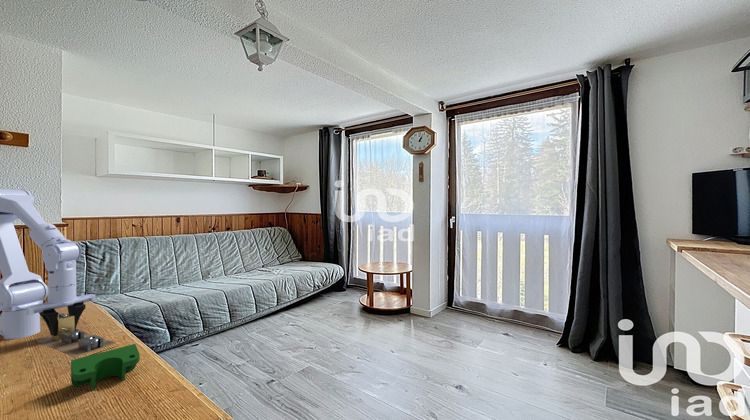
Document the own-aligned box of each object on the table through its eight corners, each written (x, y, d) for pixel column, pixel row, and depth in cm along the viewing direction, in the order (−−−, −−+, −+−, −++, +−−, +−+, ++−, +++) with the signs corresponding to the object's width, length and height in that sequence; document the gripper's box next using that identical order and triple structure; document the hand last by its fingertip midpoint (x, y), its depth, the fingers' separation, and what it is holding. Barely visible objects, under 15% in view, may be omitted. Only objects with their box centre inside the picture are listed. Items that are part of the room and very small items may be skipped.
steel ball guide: (61, 341, 89) (61, 333, 89) (77, 337, 92) (77, 329, 92) (87, 351, 83) (87, 342, 83) (103, 346, 86) (103, 337, 86)
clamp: (86, 410, 67) (62, 383, 63) (82, 393, 71) (60, 365, 67) (149, 371, 75) (132, 344, 71) (143, 356, 79) (126, 330, 74)
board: (35, 344, 89) (35, 340, 89) (76, 332, 97) (76, 329, 97) (74, 360, 80) (74, 356, 80) (116, 346, 88) (116, 342, 88)
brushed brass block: (51, 338, 91) (51, 315, 91) (67, 334, 94) (67, 311, 94) (58, 341, 89) (58, 317, 89) (74, 336, 92) (74, 313, 92)
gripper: (33, 293, 83) (34, 345, 83) (100, 281, 96) (101, 326, 96) (21, 290, 86) (22, 340, 86) (88, 278, 99) (89, 322, 99)
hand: (63, 332), depth 92 cm, fingers closed on brushed brass block, 3 cm apart
